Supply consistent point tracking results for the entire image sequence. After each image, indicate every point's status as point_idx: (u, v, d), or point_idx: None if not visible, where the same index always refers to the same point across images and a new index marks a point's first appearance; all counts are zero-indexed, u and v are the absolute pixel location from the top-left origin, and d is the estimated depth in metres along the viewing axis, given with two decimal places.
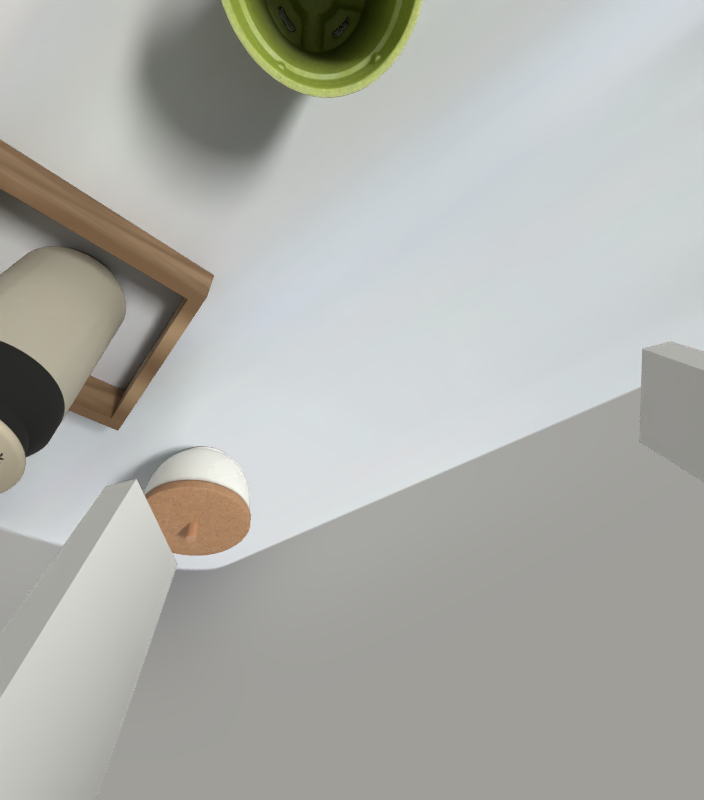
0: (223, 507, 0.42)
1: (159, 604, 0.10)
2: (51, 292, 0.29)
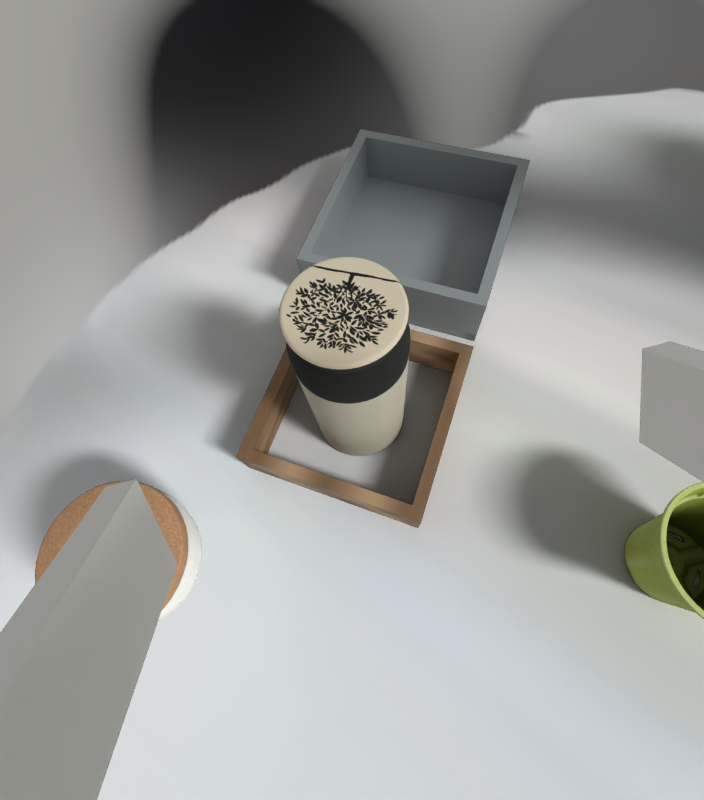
0: None
1: (159, 604, 0.10)
2: (404, 397, 0.35)
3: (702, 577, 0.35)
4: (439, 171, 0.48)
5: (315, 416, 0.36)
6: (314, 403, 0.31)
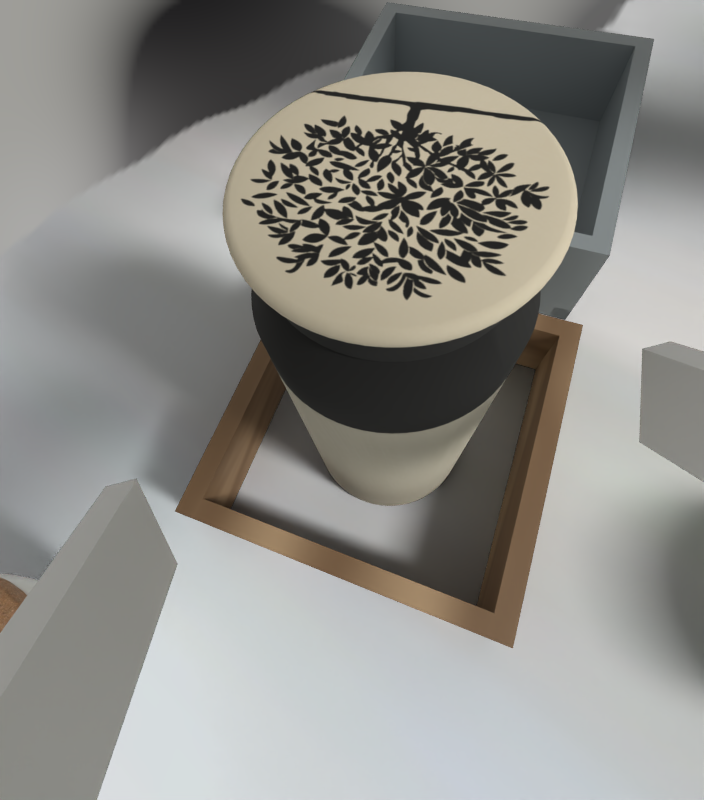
0: None
1: (159, 604, 0.10)
2: None
3: None
4: (503, 68, 0.32)
5: (315, 444, 0.20)
6: (314, 427, 0.15)
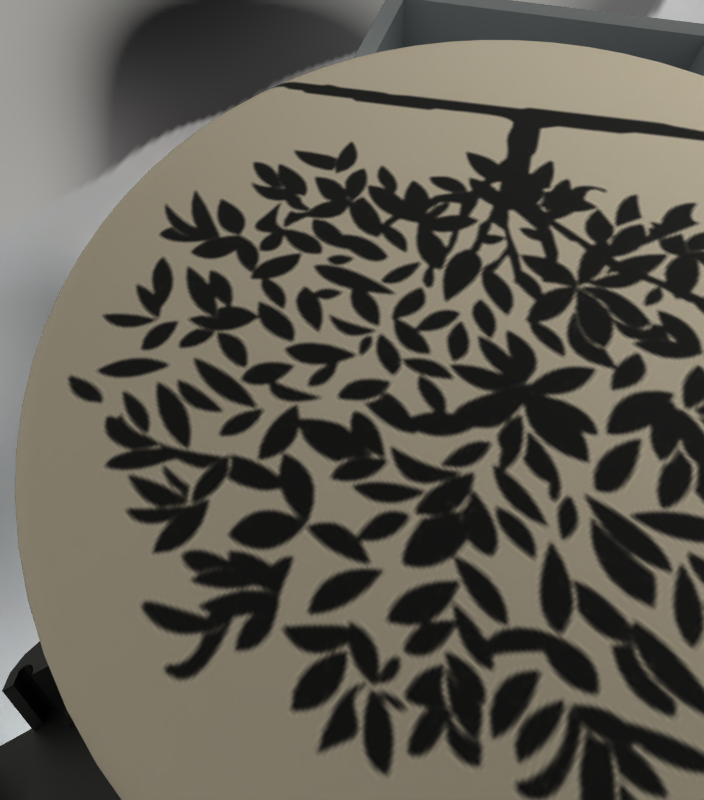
0: None
1: None
2: None
3: None
4: None
5: None
6: None
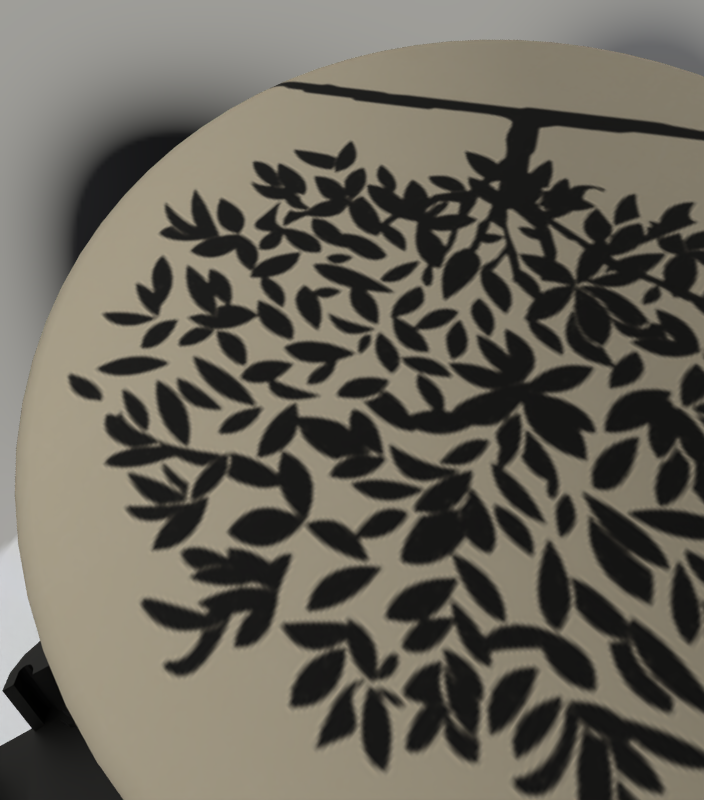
0: None
1: None
2: None
3: None
4: None
5: None
6: None
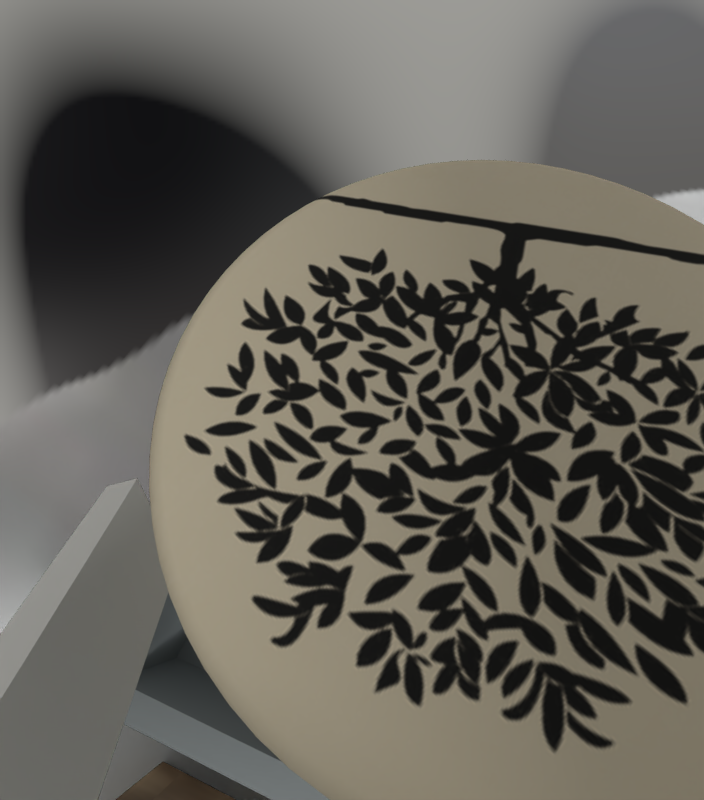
0: None
1: (160, 603, 0.10)
2: None
3: None
4: None
5: None
6: None
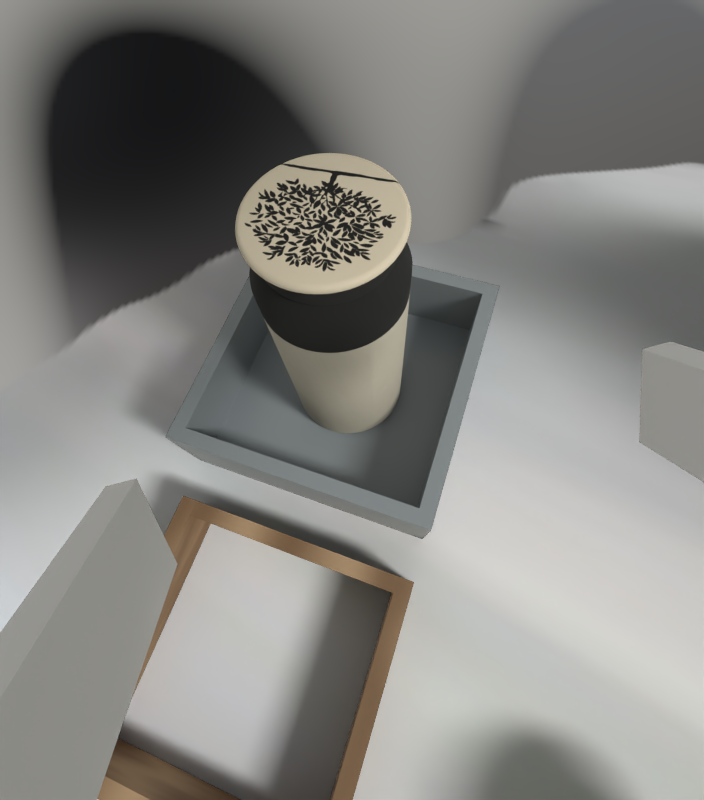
0: None
1: (159, 604, 0.10)
2: (402, 357, 0.28)
3: None
4: None
5: (293, 381, 0.29)
6: (288, 358, 0.24)
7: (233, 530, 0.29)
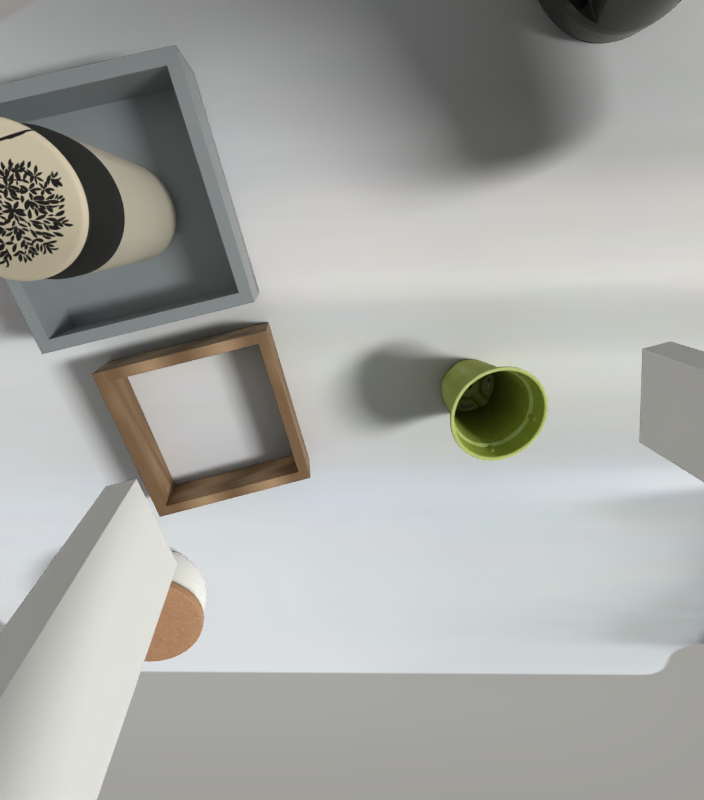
0: (188, 623, 0.47)
1: (159, 604, 0.10)
2: (149, 194, 0.32)
3: (491, 382, 0.49)
4: (73, 99, 0.33)
5: None
6: None
7: (142, 372, 0.40)
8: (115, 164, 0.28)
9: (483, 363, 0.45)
